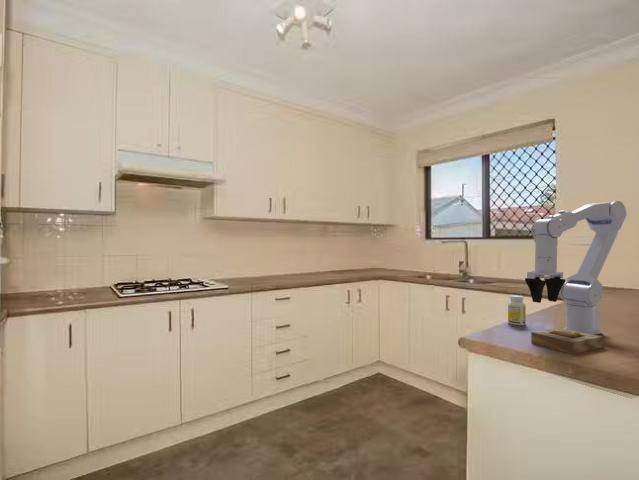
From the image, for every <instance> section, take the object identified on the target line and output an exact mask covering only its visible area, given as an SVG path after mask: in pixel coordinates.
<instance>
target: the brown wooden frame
mask: <svg viewBox="0 0 639 480" xmlns="http://www.w3.org/2000/svg"><path fill="white" fill-rule="evenodd" d="M557 329H566V327H558V328H550V329H545V330H537V331H531V333H530V334H531V336H530V337H531V338H530V341H531V342H530V343H531V344H535V345H538V346H543V347H546V348H549V349H553V350H557V351H561V352H563V353H567V354H570V355H574V354H579V353H584V352H588V351H593V350H597V349H602V348H604V336H601V335H599V334H595V335H593V334H589V333H584V332H580V337H578V338H567V337H563V336H559V335H555V334H553V330H557ZM567 330H570V329H567ZM572 331H575V330H572ZM576 332H579V331H576Z"/></svg>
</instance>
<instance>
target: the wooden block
mask: <svg viewBox="0 0 639 480" xmlns="http://www.w3.org/2000/svg"><path fill="white" fill-rule="evenodd" d="M553 334H555V335H559V336H563V337H567V338H578V337H580V332H576V331H572V330H567V329H557V330H553Z"/></svg>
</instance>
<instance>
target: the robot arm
mask: <svg viewBox="0 0 639 480" xmlns="http://www.w3.org/2000/svg"><path fill="white" fill-rule="evenodd" d="M627 216H628V215H627V209H626V205H624V203H623V202H622V201H620V200H616V201H609V202H595V203H590V202H589V203H588V204H584V205H583V206H581V207H579V208H577V209H575V210H573V211H568V210H566V209H565V210H562V209H561V210H559V211H558V212H557V214H554V215H547V218H545V219H543V218H542V219H537V220H536V221H534V222H533V225H532V227H531V228H530V231H531V234H532V235H533V241H534V243H535V245H534V246H535V248H534V250H535V252H534V253H535V254H534V255H535V256H534V270H531V271H527V272H526V277H525V278H524V282H525V283H526V285H527V287H528V289H529V292H530V296H531V300H532V302H533V303H538V304H540V303H541V302H542V300H543V299H542V298H543V292H544V288H545V286H546V290H547V291H546V292H547V293H546V294H547V300H548V301H549V302H554V303H555V302H557V301H558V298H559V297H560V298H561V299H562V300H563V303H564V304H565V328H566V329H570V330H575V331H579V332H584V333H589V334H593V335H599V334H603V333H604V331H601V330H600V327H601V326H600V325H601V323H600V317H601V315H600V310H599V309H598V307H597V305H598V304H599V303H600V301H601V299H602V291H603V289H604V286H603V285H602V283H601V282H600V281H599V280H598V278H599V276H600V274H601V272H602V269H603V267H604V265H605V264H606V263H605V262H606V260H607V259H608V256H609V254H610V252H611V251H612V250H611V249H612V248H613V245H614V243H615V240H617V236H618V233H619V231H620V230H621V228H622V226H623V224H624V222H625V220H626V218H627ZM583 220H585V221H586V223H587V225H588V226H589V228H590V230H591V231H593V232H594V233H595V234H594V237H593V238H592V241H591V242H590V244H589V247H588V249H587V251H586V253H585V255H584V258H583V260H582V262H581V265H580V266H579V268H578V270H577V273H575V274H574V273H573V274H572V275H570V276H568V277H567V278H566V279H565V278H564V272H563V271H557V270H558V269H557V268H558V266H557V265H558V238H560V237H561V236H562V234H563V233H564V232H566V231H568V230H571V229H572V228H575V227H576V226H577V224H578V222H581V221H583ZM542 279H543V280H542Z"/></svg>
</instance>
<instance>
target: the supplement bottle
mask: <svg viewBox="0 0 639 480" xmlns="http://www.w3.org/2000/svg"><path fill="white" fill-rule="evenodd" d="M509 297H510V298H509V299H510V301H509V302H508V303H507V323H508V324H509V323H510V325H514V326H525V325H526V321H527V320H526V317H527V315H526V303H525V302H524V296H523V295H516V294H514V295H513V294H511V295H510V296H509Z"/></svg>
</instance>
